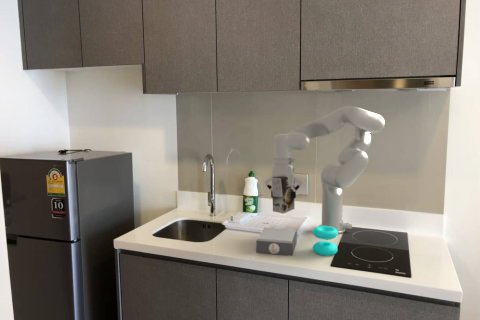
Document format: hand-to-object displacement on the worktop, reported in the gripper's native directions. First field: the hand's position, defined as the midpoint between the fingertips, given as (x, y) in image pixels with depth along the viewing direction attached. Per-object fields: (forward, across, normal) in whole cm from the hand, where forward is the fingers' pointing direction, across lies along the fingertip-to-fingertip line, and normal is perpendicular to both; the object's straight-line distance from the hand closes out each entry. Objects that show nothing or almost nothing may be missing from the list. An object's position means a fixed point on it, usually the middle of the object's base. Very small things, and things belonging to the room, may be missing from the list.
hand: (283, 199), depth 180 cm
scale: (+17, +1, +15) cm, 23 cm away
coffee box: (+5, 0, 0) cm, 5 cm away
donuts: (+18, -19, +16) cm, 30 cm away
